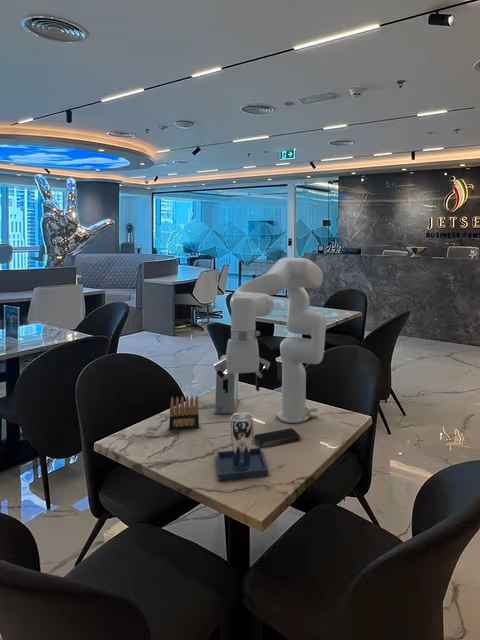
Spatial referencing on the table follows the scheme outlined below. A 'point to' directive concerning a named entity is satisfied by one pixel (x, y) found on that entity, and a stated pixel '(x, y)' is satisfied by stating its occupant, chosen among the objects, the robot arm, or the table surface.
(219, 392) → the hard drive box
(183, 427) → the ammunition clip
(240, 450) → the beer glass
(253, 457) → the tray
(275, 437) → the phone
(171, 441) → the table surface
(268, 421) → the table surface
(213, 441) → the table surface
